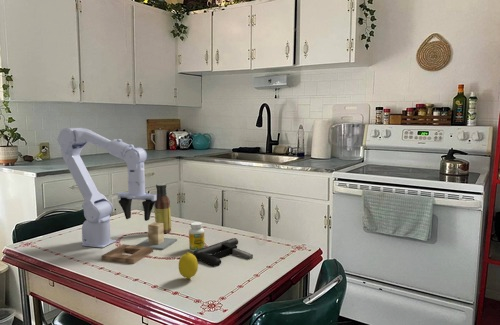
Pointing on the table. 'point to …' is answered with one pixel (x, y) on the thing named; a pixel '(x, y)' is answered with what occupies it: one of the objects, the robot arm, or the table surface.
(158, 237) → the beech block
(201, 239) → the supplement bottle
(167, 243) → the grey square plate
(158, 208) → the sauce bottle
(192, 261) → the lemon
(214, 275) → the table surface
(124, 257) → the brown wooden square frame
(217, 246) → the toy gun
